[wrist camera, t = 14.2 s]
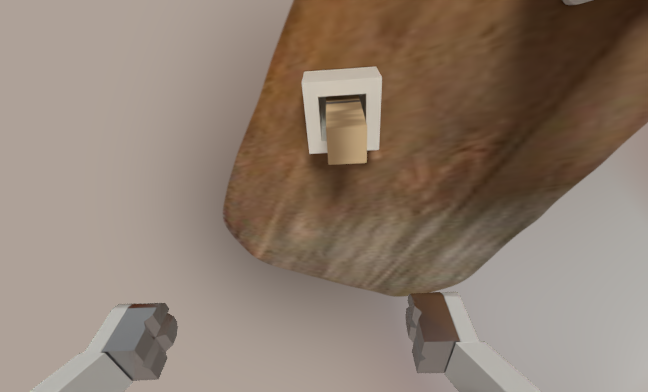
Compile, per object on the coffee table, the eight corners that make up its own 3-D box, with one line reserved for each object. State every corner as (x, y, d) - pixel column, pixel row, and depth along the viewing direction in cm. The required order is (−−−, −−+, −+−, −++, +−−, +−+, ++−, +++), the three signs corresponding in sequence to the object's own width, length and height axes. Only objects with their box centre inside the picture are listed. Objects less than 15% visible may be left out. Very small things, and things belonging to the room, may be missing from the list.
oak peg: (357, 89, 39) (367, 126, 29) (357, 119, 41) (366, 163, 32) (325, 91, 39) (325, 128, 29) (327, 121, 42) (328, 165, 32)
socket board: (376, 66, 38) (381, 77, 34) (373, 133, 43) (378, 149, 39) (304, 71, 38) (301, 82, 34) (311, 137, 43) (309, 153, 39)
